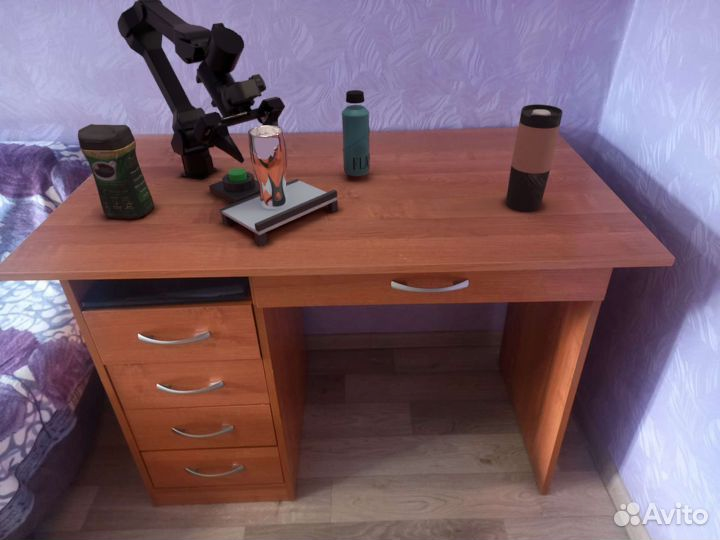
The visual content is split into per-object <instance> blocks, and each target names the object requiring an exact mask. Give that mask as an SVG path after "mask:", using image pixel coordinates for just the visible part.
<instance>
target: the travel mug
mask: <svg viewBox="0 0 720 540" xmlns="http://www.w3.org/2000/svg"><path fill="white" fill-rule="evenodd" d="M562 117H563V109H561V108H560V107H558V106H554V105H549V104H538V103H537V104H535V103H534V104H527V105H524V106H522V108H521V111H520V117H519V121H518V126H517V131H516V137H515V143H514V148H513V153H512V159H511V165H510V171H509V178H508V186H507V191H506V199H505V203H506V205H507V207H508V208H510V209H512V210H514V211H518V212H523V213H531V212H535V211H538V210H539V209H540V208H541V205H542V203H543V198H544V194H545V192H546V187H547V183H548V180H549V176H550V172H551V168H552V164H553V160H554V154H555V150H556V144H557V141H558V136H559V131H560V128H561V127H560V126H561V122H562Z"/></svg>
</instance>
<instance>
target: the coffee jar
mask: <svg viewBox="0 0 720 540" xmlns="http://www.w3.org/2000/svg"><path fill="white" fill-rule="evenodd" d="M77 139H78V144H79V149H80V151H81V153H82V154H83V156H84V158H86V160H87V162H88V164H89V167H90V170H91V172H92V175H93V180H94V183H95V185H96V189H97V192H98V197H99V201H100V205H101V208H102V211H103V214H104V215H105V216H106V217H108V218H111V219H122V220H123V219H124V220H125V219H126V220H128V219H129V220H131V219H138V218H140V217H143V216H145V215H148V214H149V213H150V212H151V211H152V210H153V209H154V206H155V202H154V199H153V196H152V194H151V191H150V189H149V187H148V183H147V182H146V179H145V176H144V173H143V171H142V168H141V166H140V163H139V161H138V157H137V156H138V155H137V150H136V148H137V141H136V139H135V136H134V134H133V132H132V129H131V128H130V127H129V125H127V124H93V123H91V124H88V125H86V126H84V127H82V128H80V129H79V130H78V131H77Z"/></svg>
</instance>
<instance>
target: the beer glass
mask: <svg viewBox="0 0 720 540" xmlns="http://www.w3.org/2000/svg"><path fill="white" fill-rule="evenodd" d="M284 132H285V131H284V128H283V127H282V126H279V125H278V126H273V125H265V126H262V125H259V126H255V127H251V128H250V129H248V131H247V135H248V149H249V156H250V161H251V165H252V168H253V172H254V174H255V178H256V180H257V181H258V184H259V188H260V206H261V207H262V208H264V209H267V210H278V209H282V208H285V207H286V206H288V205H289V203H290V199H289V196H288V193H287V188H286V183H287V170H288V150H287V143H286V137H285V133H284Z"/></svg>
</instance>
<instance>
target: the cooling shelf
mask: <svg viewBox="0 0 720 540" xmlns="http://www.w3.org/2000/svg"><path fill="white" fill-rule="evenodd" d="M286 188H287V193H288V196H289V199H290V203H289V205H288V206H286V207H285V208H282V209H278V210H267V209H264V208H262V207H261V206H260V194H257V195H254V196H252V197H249V198H247V199H244V200H241V201H239V202H236V203H234V204H229V205H226V206H224V207H221V208H219V213H220V215H221V219H222V224H223V225H226V226H230V225H232V224H234V223H235V222H236V223H237V224H239V225H241V226H243V227H244V228H246V229H248V230H250V231H251V232H253V234H254V239H255V244H256V245H258V246H260V247H262V246H264V245H266V244H268V237H267V232H269V231H272V230H274V229H276V228H278V227H280V226H283V225H285V224H287V223H289V222H291V221H294V220H297V219H298V218H301V217H302V216H305V215H307V214H309V213H311V212H314V211H316V210H318V209H321V208H323V207H325V206H326V207H327V211H328V212H330V213H332V214H333V213H335V212H337V211H338V210H339V205H338V203H339V202H338V191H337V190H336V189H332V190H329V191H324V190H322V189H320V188H318V187H315V186H313V185H311V184H309V183H307V182H304V181H301V180H300V179H298V178H296V179H293V180H290V181H288V182H286Z"/></svg>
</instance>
